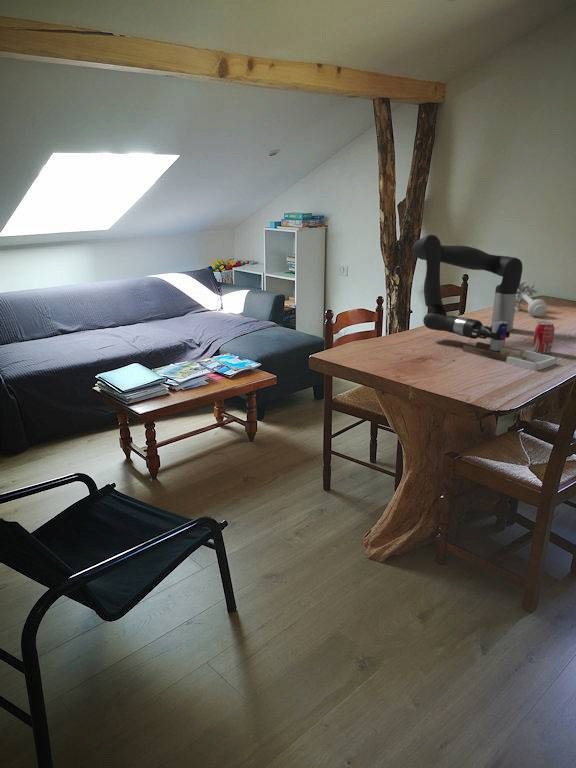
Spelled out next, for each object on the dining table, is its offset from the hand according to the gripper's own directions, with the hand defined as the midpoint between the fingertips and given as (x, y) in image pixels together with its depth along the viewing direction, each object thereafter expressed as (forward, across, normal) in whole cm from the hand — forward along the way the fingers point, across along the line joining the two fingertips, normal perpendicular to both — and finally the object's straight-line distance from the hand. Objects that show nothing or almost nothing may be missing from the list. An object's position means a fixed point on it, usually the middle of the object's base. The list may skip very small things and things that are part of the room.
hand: (504, 336), depth 217 cm
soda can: (+6, +18, +8) cm, 21 cm away
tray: (+12, 0, +8) cm, 15 cm away
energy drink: (-3, 0, +7) cm, 8 cm away
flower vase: (-39, +84, +9) cm, 93 cm away
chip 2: (+6, 0, +8) cm, 10 cm away
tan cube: (+2, 0, +8) cm, 9 cm away
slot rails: (-5, 0, +8) cm, 10 cm away
